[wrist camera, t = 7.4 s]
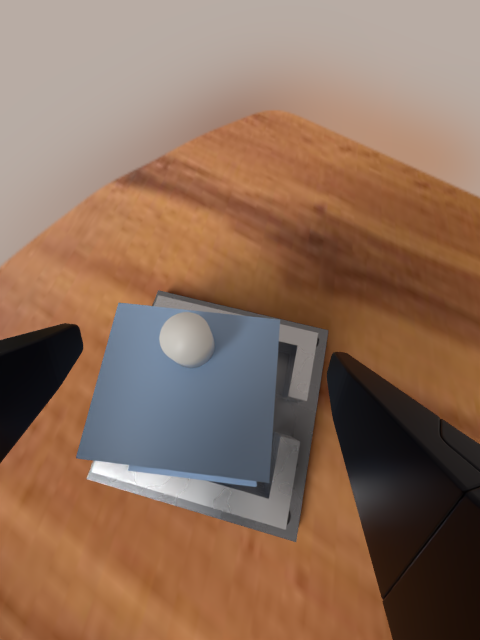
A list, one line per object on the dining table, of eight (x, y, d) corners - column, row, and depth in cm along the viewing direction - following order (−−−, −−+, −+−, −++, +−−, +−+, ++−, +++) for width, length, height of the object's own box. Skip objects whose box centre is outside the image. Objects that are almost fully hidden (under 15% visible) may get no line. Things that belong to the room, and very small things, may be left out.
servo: (250, 455, 15) (270, 560, 5) (172, 445, 15) (28, 525, 5) (259, 353, 17) (288, 270, 7) (189, 345, 17) (111, 252, 7)
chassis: (292, 533, 15) (307, 569, 12) (95, 474, 16) (57, 492, 13) (323, 334, 19) (341, 318, 15) (162, 296, 20) (146, 273, 16)
